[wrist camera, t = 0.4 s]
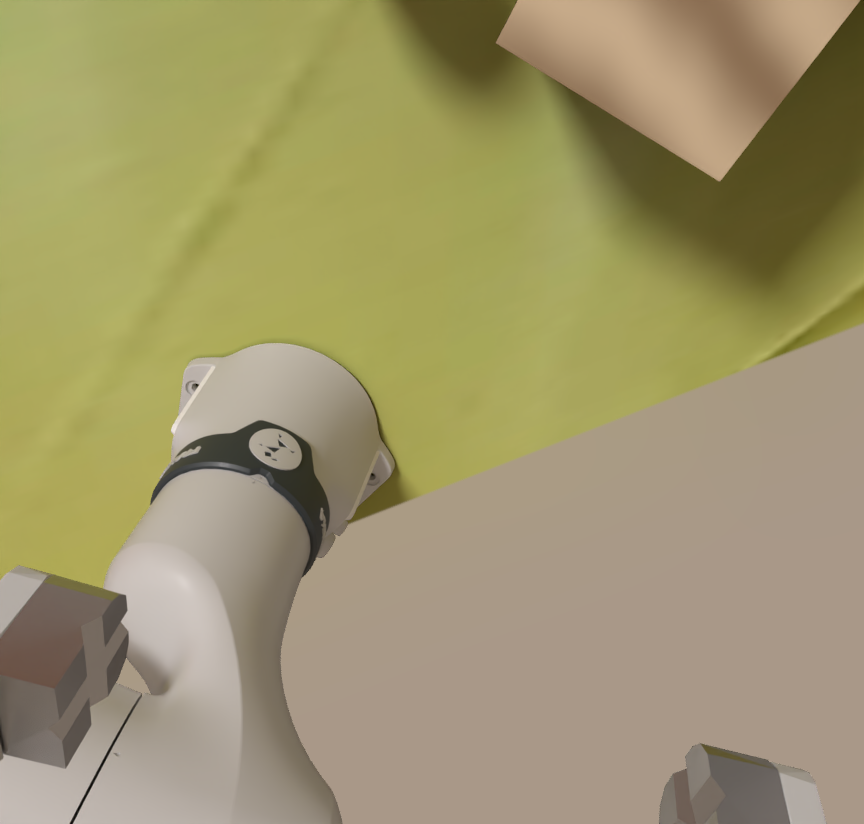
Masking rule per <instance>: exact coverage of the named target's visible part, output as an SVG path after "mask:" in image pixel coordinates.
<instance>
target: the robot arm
mask: <svg viewBox="0 0 864 824" xmlns="http://www.w3.org/2000/svg"><path fill="white" fill-rule="evenodd" d="M195 383H196V384H199V386H198V387H197V386H196V384H195ZM171 432H172V433H173V435H174V437H173V442H172V453H171V462H170V463H169V465H168V466H167V467H166V469H165V470H164V472H163V473H162V475H161V477H160V478H159V479H160V481H159V482H158V484H157V486H156V487H155V489H154V491H153V494H152V498H151V504H150V507H149V508H148V510H147V511H146V513H145V514H144V516H143V517H142V518H141V520H140V521H139V523H138V524H137V526H136V527H135V529H134V530H133V531H132V533H131V534H130V536H129V537H128V539H127V540H126V542H125V543H124V545H123V546H122V547H121V549H120V550H119V552H118V553H117V555H116V556H115V558H114V559H113V561H112V562H111V564H110V566H109V569H108V571H107V574H106V577H105V582H104V587H103V588H99V587H96V586H92V585H88V584H85V583H81V582H78V581H74V580H71V579H67V578H63V577H60V576H56V575H54V574H50V573H46V572H42V571H39V570H35V569H31V568H27V567H23V566H20V565H19V566H17V567H16V568H14V569H12V570H11V571H9V572H8V573H6V574H5V575H4V577H3V578H2V579H1V580H0V824H342V819H341V815H340V811H339V808H338V805H337V802H336V799H335V797H334V794H333V792H332V790H331V788H330V787H329V786H328V784H327V783H326V782H325V780H324V779H323V778H322V776H321V775H320V774H319V772H318V771H317V769H316V768H315V766H314V765H313V763H312V761H311V760H310V758H309V756H308V755H307V753H306V751H305V749H304V747H303V745H302V743H301V741H300V739H299V737H298V734H297V732H296V730H295V727H294V725H293V722H292V719H291V716H290V713H289V710H288V707H287V703H286V699H285V694H284V689H283V683H282V677H281V664H280V663H281V662H280V661H281V660H280V659H281V657H280V656H281V646H282V640H283V635H284V632H285V628H286V624H287V620H288V617H289V613H290V610H291V607H292V603H293V600H294V597H295V594H296V591H297V588H298V585H299V582H300V580H301V578H302V577H303V576H304V575H305V574H306V573H307V572H308V571H309V569H310V568H311V566H312V565H313V563H314V561H315V559H316V557H319V558H322V557H324V556H325V555H326V554H327V552H328V551H329V550H330V548H331V546H332V545H333V543H334V541H335V536H334V534H336V535H338V536H340V535H341V534H342V533H343V531H344V530H345V529H346V527H347V525H348V522H347V521H346V520H350V519H351V518H352V517H353V515H354V513H355V511H356V509H357V507H358V506H359V505H360V504H361V503H362V502H363V501H365V500H366V499H367V498H368V497H369V496H370V495H371V494H372V493H373V492H374V491H375V490H376V489H378V488H379V487H380V486H381V485H382V484H383V483H384V482H385V481H386V480H387V479H388V478H389V477H390V476H391V474H392V472H393V470H394V468H395V462H394V459H393V457H392V455H391V454H390V452H389V450H388V449H387V447H386V446H385V445H384V443H383V442H382V440H381V438H380V435H379V431H378V424H377V418H376V414H375V411H374V408H373V405H372V403H371V401H370V399H369V397H368V395H367V393H366V392H365V390H364V389H363V387H362V386H361V385H360V383H359V382H358V381H357V380H356V379H355V378H354V377H353V376H352V375H351V374H350V373H349V372H348V371H347V370H346V369H345V368H343V367H342V366H341V365H339V364H338V363H337V362H335V361H333V360H332V359H330V358H328V357H327V356H325V355H323V354H321V353H318V352H316V351H314V350H311V349H308V348H305V347H301V346H297V345H292V344H283V343H267V344H260V345H255V346H251V347H248V348H245V349H243V350H241V351H238V352H236V353H234V354H232V355H229V356H226V357H222V358H218V357H210V358H197V359H194V360H192V361H190V362H189V364H188V365H187V367H186V369H185V371H184V375H183V383H182V391H181V398H180V406H179V414H178V418H177V419H176V421H175V422H174V424H173V426H172V429H171ZM371 473H373V474H375V475H371ZM333 533H334V534H333ZM126 658H127V659H128V660H129V662H130V663H131V664H132V665H133V666H134V668H135V669H136V670H137V671H138V672H139V674H140V675H141V677H142V678H143V679H144V681H145V682H146V684H147V686H148V688H149V690H150V693H151V694H148V693H144V695H143V696H142V693H140V692H137V691H135V690H132V689H130V688H127V687H125V686H123V685H120V684H118V683H116V681H117V680H118V677H119V675H120V672H121V670H122V667H123V664H124V662H125V659H126ZM685 758H686V766H687V769H685V770H682V771H679V772H676V773H674V774H673V775H672V776H671V778H670V780H669V781H668V783H667V784H666V786H665V788H664V792H663V796H662V800H661V804H660V815H659V816H660V817H659V824H827V823H826V820H825V816H824V812H823V809H822V805H821V802H820V798H819V794H818V790H817V787H816V783H815V781H814V779H813V777H812V776H811V775H810V773H809V772H807V771H804V770H802V769H798V768H794V767H789V766H785V765H781V764H777V763H772V762H769V761H768V760H766V759H762V758H758V757H753V756H749V755H745V754H741V753H737V752H733V751H729V750H725V749H720V748H717V747H712V746H708V745H704V744H698V745H695V746H692V748H691V749H690V751H689V752H688V753H687V755H686V756H685Z"/></svg>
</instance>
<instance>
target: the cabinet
mask: <svg viewBox="0 0 864 824" xmlns="http://www.w3.org/2000/svg"><path fill="white" fill-rule="evenodd" d="M859 1H860V0H517V2H516V4H515V6H514V8H513V10H512V12H511V14H510V16H509V18H508V20H507V22H506V24H505V26H504V28H503V30H502V31H501V33H500V35H499V37H498V39H497V41H496V44H498V45H500V46H501V47H503V48H505V49H506V50H508V51H509V52H511V53H513V54H514V55H516V56H517V57H519V58H521V59H522V60H524V61H526V62H527V63H529V64H530V65H532V66H534V67H535V68H537V69H538V70H540V71H542V72H543V73H545V74H546V75H548V76H550V77H551V78H553V79H555V80H556V81H558V82H559V83H561V84H563V85H564V86H566V87H567V88H569V89H571V90H572V91H574V92H576V93H577V94H579V95H580V96H582V97H584V98H585V99H587V100H588V101H590V102H592V103H593V104H595V105H597V106H598V107H600V108H601V109H603V110H605V111H606V112H608V113H609V114H611V115H613V116H614V117H616V118H618V119H619V120H621V121H622V122H624V123H626V124H627V125H629V126H630V127H632V128H634V129H635V130H637V131H639V132H640V133H642V134H643V135H645V136H647V137H648V138H650V139H651V140H653V141H655V142H656V143H658V144H660V145H661V146H663V147H664V148H666V149H668V150H669V151H671V152H672V153H674V154H676V155H677V156H679V157H681V158H682V159H684V160H685V161H687V162H689V163H690V164H692V165H693V166H695V167H697V168H698V169H700V170H702V171H703V172H705V173H706V174H708V175H710V176H711V177H713V178H714V179H716V180H718V181H719V182H720V181H721V180H722V178H723V177H724V176H725V174H726V173H727V172H728V170H729V169H730V168H731V167H732V165H733V164H734V163H735V161H736V160H737V159H738V158H739V156H740V155H741V154H742V152H743V151H744V150H745V149H746V147H747V146H748V145H749V143H750V142H751V141H752V139H753V138H754V137H755V136H756V134H757V133H758V132H759V130H760V129H761V128H762V127H763V125H764V124H765V123H766V121H767V120H768V119H769V118H770V116H771V115H772V114H773V112H774V111H775V110H776V109H777V107H778V106H779V105H780V103H781V102H782V101H783V99H784V98H785V97H786V96H787V94H788V93H789V92H790V90H791V89H792V88H793V87H794V85H795V84H796V83H797V81H798V80H799V79H800V78H801V76H802V75H803V74H804V72H805V71H806V70H807V68H808V67H809V66H810V65H811V63H812V62H813V61H814V59H815V58H816V57H817V56H818V54H819V53H820V52H821V50H822V49H823V48H824V47H825V45H826V44H827V43H828V41H829V40H830V39H831V37H832V36H833V35H834V34H835V32H836V31H837V30H838V28H839V27H840V26H841V25H842V23H843V22H844V21H845V19H846V18H847V17H848V16H849V14H850V13H851V12H852V10H853V9H854V8H855V7H856V5H857V4H858V3H859Z"/></svg>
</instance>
